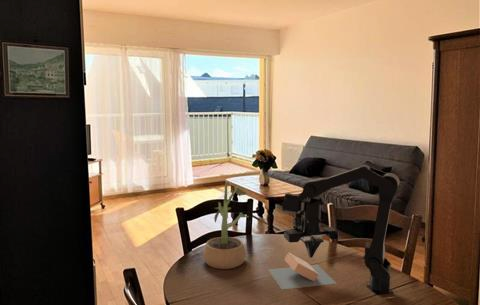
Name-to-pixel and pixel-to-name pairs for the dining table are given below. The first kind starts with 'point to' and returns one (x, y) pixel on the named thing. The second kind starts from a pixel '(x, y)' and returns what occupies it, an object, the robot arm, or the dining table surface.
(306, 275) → the tile
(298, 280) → the mat
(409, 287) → the dining table surface
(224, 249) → the potted plant
